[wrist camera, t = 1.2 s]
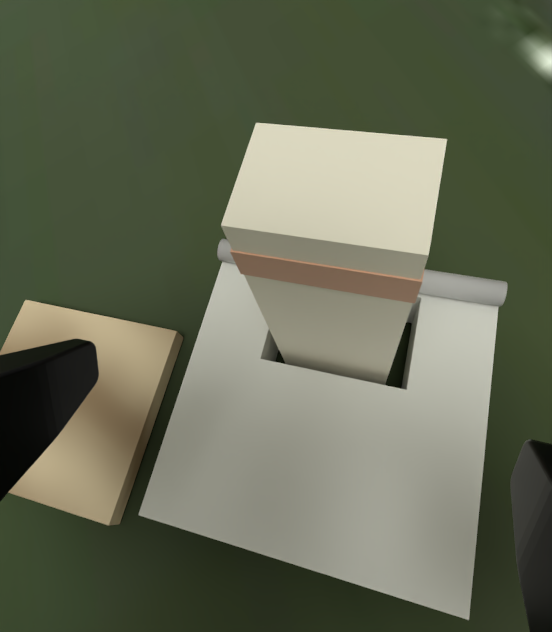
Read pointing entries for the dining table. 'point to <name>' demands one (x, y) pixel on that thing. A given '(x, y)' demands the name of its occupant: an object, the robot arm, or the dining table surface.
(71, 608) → the dining table surface
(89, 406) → the pad
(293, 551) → the white slotted base
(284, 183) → the rectangular peg
